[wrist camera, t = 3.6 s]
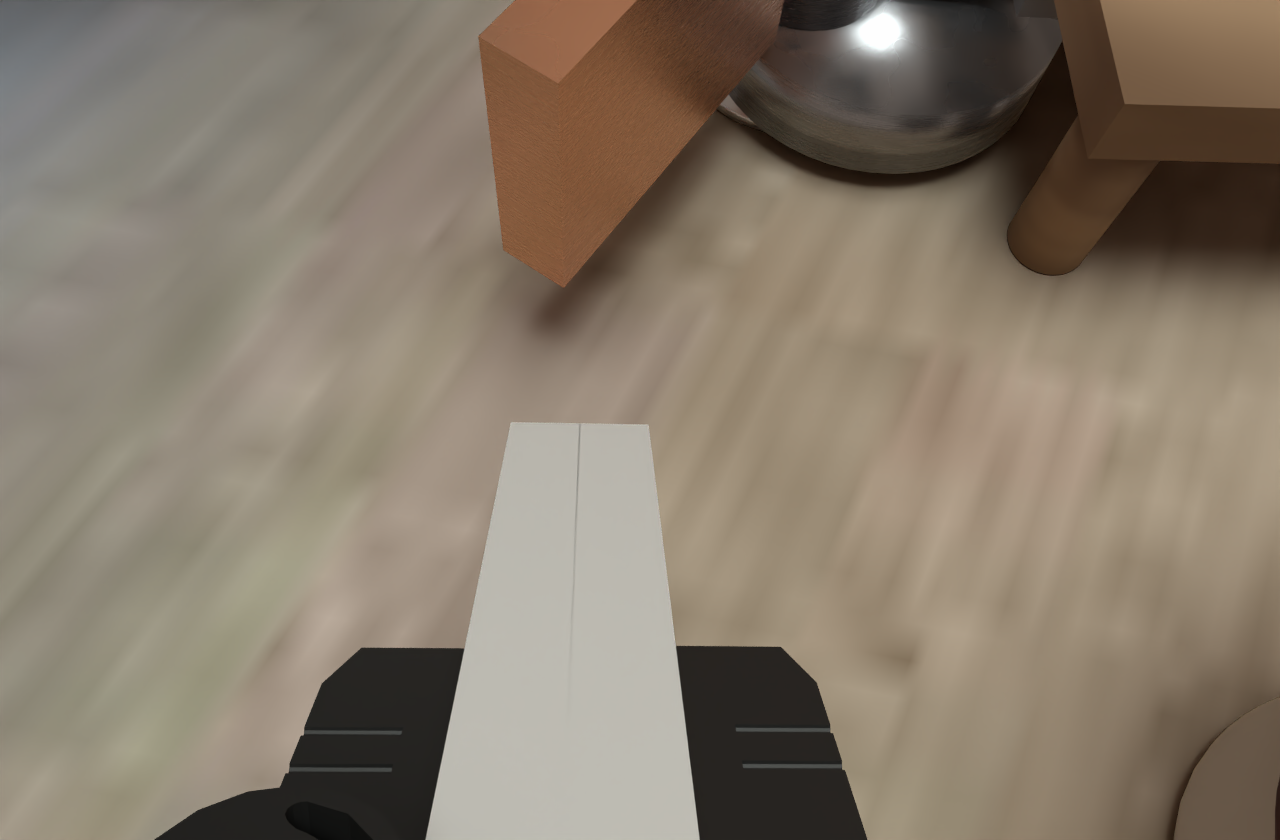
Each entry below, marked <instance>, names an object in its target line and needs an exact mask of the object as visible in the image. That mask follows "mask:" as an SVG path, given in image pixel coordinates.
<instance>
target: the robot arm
mask: <svg viewBox="0 0 1280 840" xmlns="http://www.w3.org/2000/svg"><path fill="white" fill-rule="evenodd" d="M155 840H867V837H866V834H865V831H864V828H863V825H862V822H861V818H860V815H859V812H858V809H857V806H856V803H855V800H854V797H853V794H852V791H851V788H850V784H849V781H848V778H847V775H846V772H845V770H842V760H841V757H840V754H839V750H838V747H837V744H836V741H835V738H834V735H833V733H830V723H829V720H828V716H827V713H826V710H825V707H824V704H823V701H822V698H821V695H820V692H819V689H818V686H817V683H816V682H815V681H814V680H813V679H812V678H811V677H810V676H809V675H808V674H807V673H806V672H805V671H804V670H803V669H802V668H801V667H800V666H799V665H798V664H797V663H796V662H795V661H794V660H793V659H792V658H791V657H790V656H789V655H788V654H787V653H786V652H785V651H784V650H783V649H782V648H781V647H734V646H676V644H675V636H674V627H673V619H672V611H671V603H670V595H669V587H668V579H667V571H666V562H665V554H664V546H663V538H662V530H661V522H660V514H659V506H658V497H657V489H656V481H655V473H654V465H653V457H652V449H651V441H650V432H649V425H646V424H589V423H532V422H511V424H510V429H509V434H508V439H507V444H506V449H505V454H504V459H503V463H502V468H501V473H500V478H499V483H498V488H497V493H496V498H495V503H494V507H493V512H492V517H491V522H490V527H489V532H488V537H487V542H486V546H485V551H484V556H483V561H482V566H481V571H480V576H479V581H478V586H477V590H476V595H475V600H474V605H473V610H472V615H471V620H470V625H469V630H468V634H467V639H466V644H465V649H459V648H361V649H360V650H359V651H357V652H356V653H355V654H354V655H353V656H352V657H351V658H350V659H349V660H348V661H346V662H345V663H344V664H343V665H342V666H341V667H340V668H339V669H338V670H336V671H335V672H334V673H333V674H332V675H331V676H330V677H329V678H328V679H327V680H325V681H324V682H323V683H322V685H321V687H320V690H319V692H318V695H317V697H316V700H315V702H314V704H313V707H312V709H311V712H310V714H309V717H308V719H307V722H306V724H305V727H304V736H301V737H300V739H299V742H298V744H297V747H296V749H295V752H294V754H293V756H292V759H291V761H290V768H289V773H286V774H285V776H284V779H283V781H282V784H281V786H280V788H273V789H265V790H257V791H249V792H246V793H243V794H240V795H237V796H235V797H232V798H229V799H227V800H224V801H221V802H219V803H216V804H213V805H211V806H208V807H205V808H202V809H200V810H198V811H196V812H195V813H193V814H192V815H190V816H189V817H187V818H186V819H184V820H183V821H181V822H180V823H178V824H177V825H175V826H174V827H172V828H171V829H170V830H168V831H167V832H165V833H164V834H162V835H161V836H159V837H158V838H156V839H155Z"/></svg>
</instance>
